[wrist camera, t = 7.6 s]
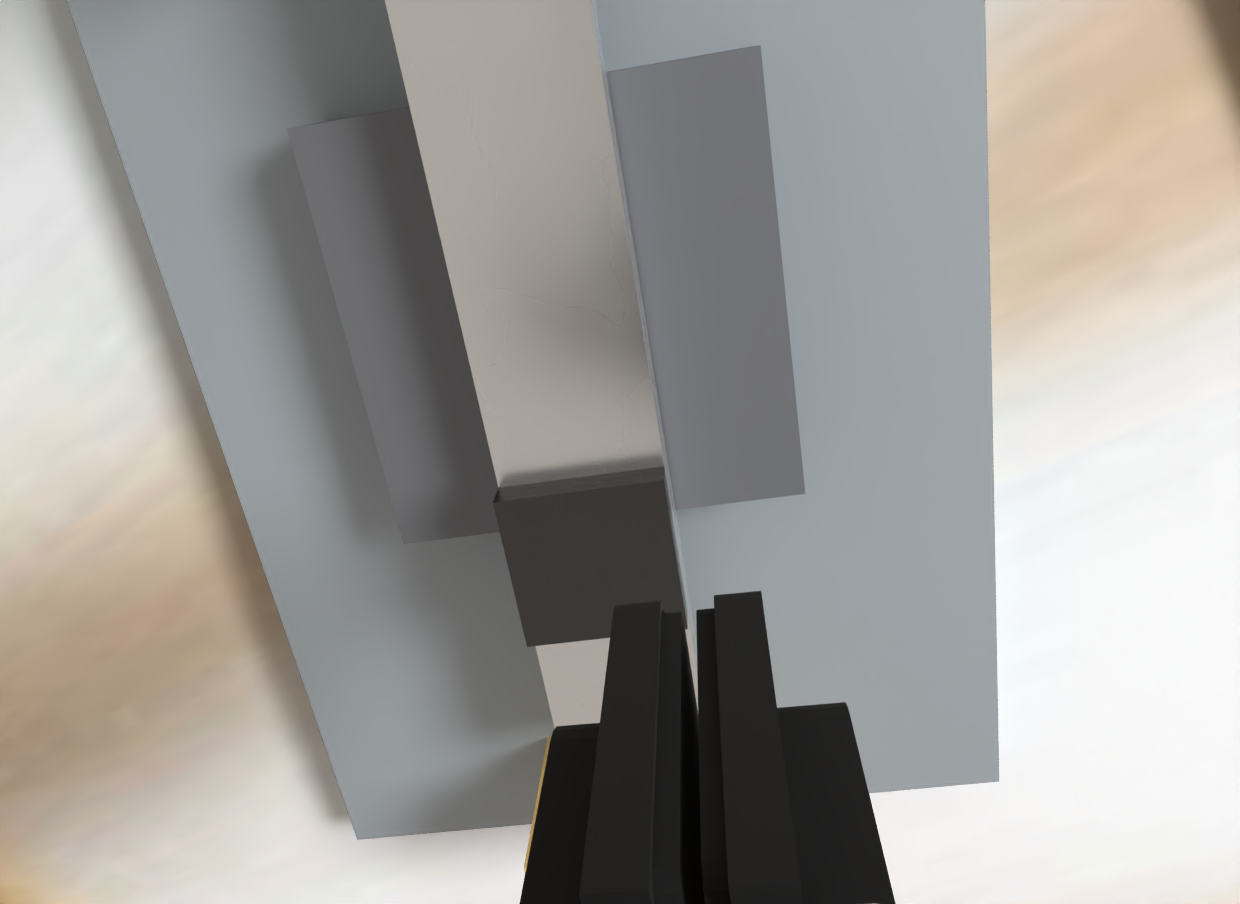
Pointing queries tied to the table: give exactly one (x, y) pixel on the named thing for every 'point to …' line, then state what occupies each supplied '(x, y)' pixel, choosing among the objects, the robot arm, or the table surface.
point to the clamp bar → (548, 319)
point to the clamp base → (454, 597)
